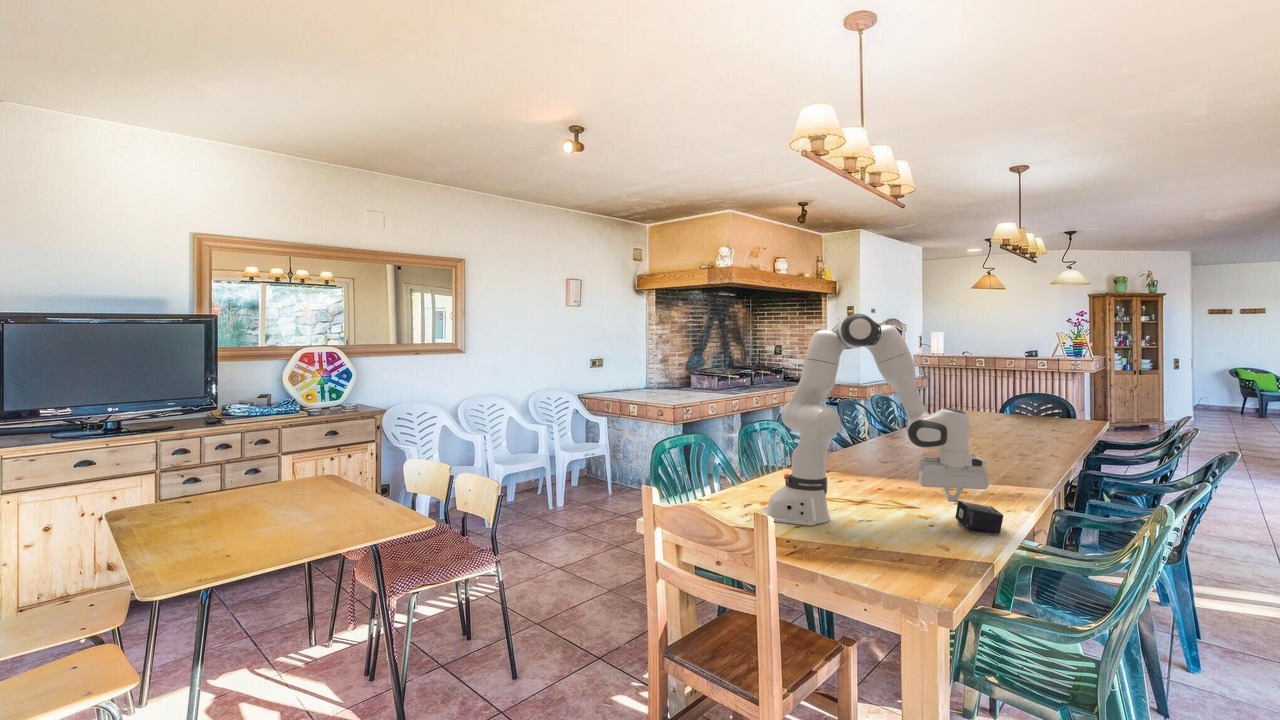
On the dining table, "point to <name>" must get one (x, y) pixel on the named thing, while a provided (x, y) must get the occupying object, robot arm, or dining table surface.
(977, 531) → the mat
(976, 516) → the small box
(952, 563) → the dining table surface
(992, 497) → the dining table surface
